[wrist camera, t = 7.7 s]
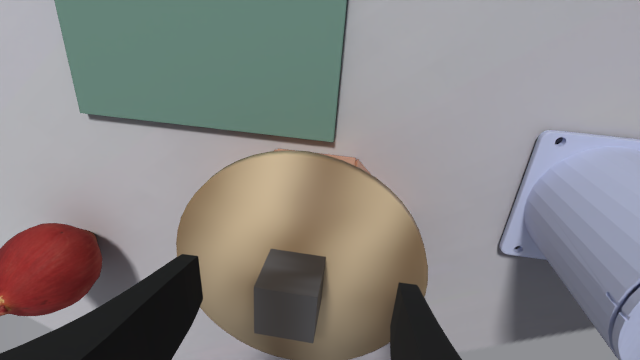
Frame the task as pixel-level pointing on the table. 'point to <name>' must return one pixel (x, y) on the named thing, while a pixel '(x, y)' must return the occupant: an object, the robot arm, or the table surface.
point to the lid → (302, 254)
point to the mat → (209, 62)
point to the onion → (47, 269)
